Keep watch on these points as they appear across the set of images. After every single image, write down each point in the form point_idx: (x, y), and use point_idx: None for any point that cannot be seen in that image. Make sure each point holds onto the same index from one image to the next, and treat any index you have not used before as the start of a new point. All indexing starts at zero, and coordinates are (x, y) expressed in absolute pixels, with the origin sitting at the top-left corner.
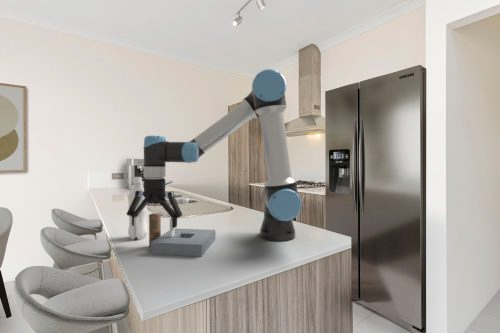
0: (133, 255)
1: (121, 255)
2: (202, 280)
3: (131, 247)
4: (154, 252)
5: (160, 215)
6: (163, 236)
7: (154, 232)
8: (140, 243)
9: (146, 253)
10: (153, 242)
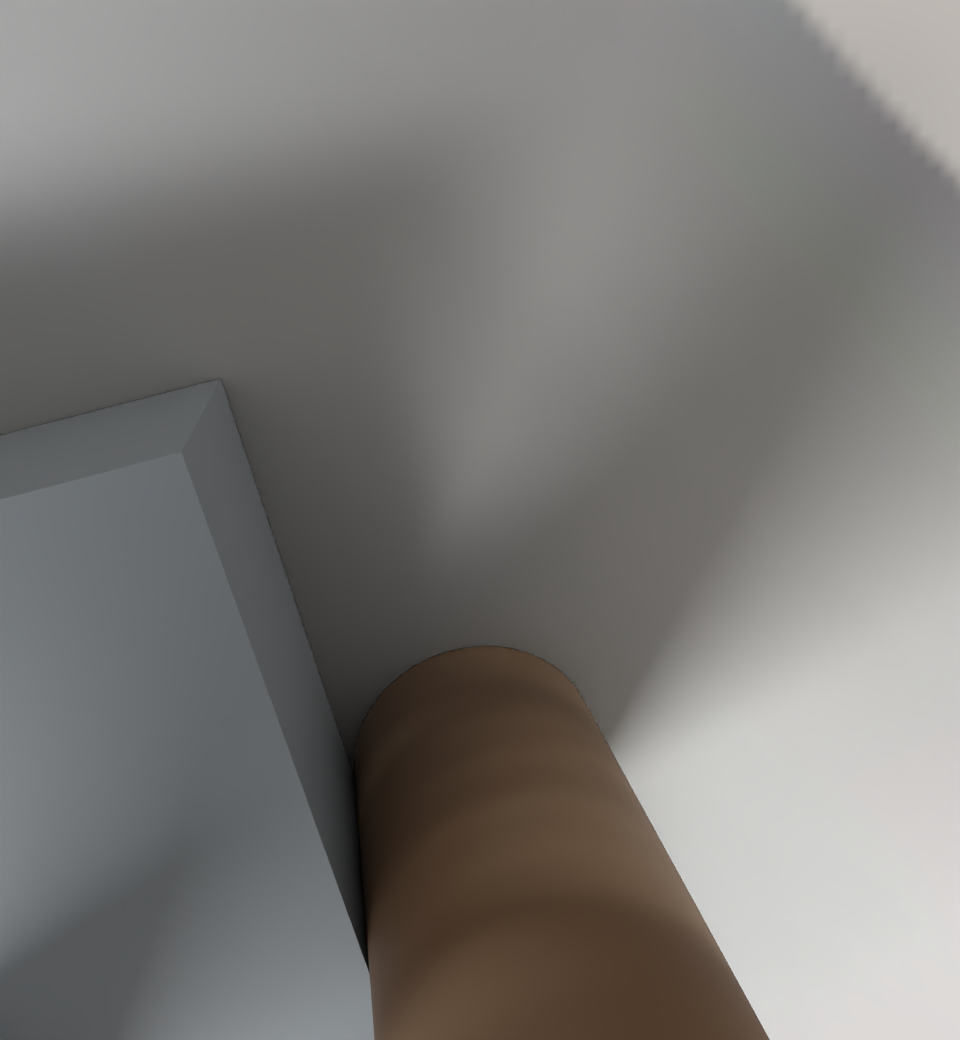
0: (542, 142)
1: (814, 33)
2: None
3: (923, 523)
4: (109, 413)
5: None
6: (259, 1010)
7: (459, 960)
8: (893, 763)
9: (345, 370)
10: (75, 483)
